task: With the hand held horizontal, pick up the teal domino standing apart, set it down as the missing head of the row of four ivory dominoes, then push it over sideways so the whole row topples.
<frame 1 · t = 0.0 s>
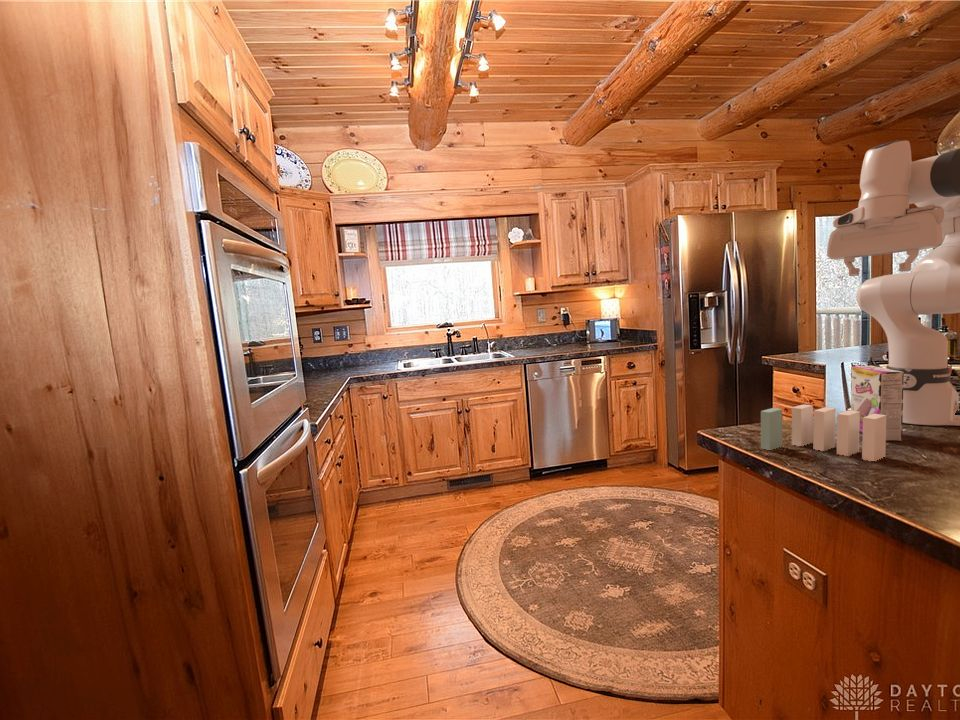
hand: (878, 273, 103), 39 cm above the counter, tool pointing down, fingers open, 8 cm apart
domino 2: (824, 448, 100), on the counter
domino 1: (802, 443, 104), on the counter
candy bar box: (874, 435, 107), on the counter
domino 3: (847, 453, 96), on the counter
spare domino: (771, 447, 103), on the counter
domino 4: (873, 458, 92), on the counter
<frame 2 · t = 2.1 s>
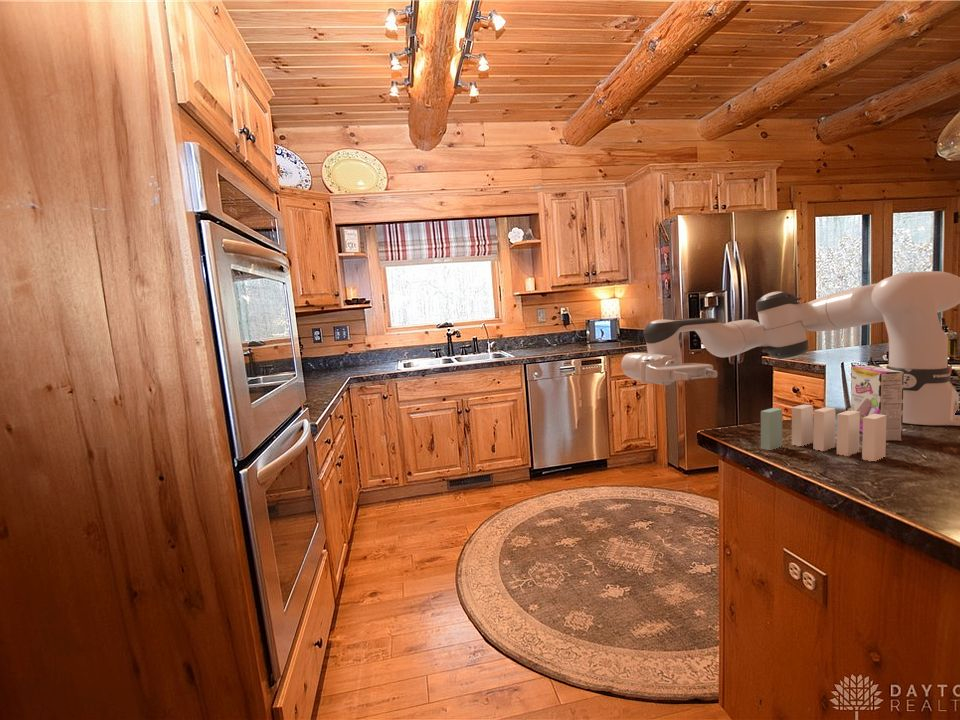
hand: (702, 375, 118), 15 cm above the counter, tool horizontal, fingers open, 8 cm apart
nothing on the counter moved.
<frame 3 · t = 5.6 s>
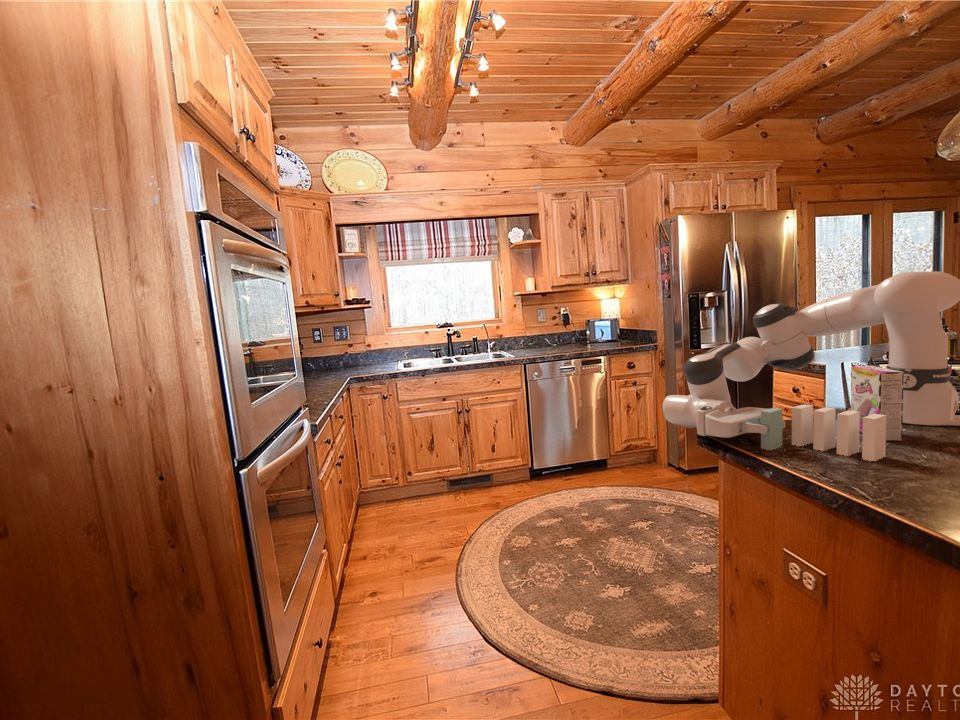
hand: (775, 427, 102), 5 cm above the counter, tool horizontal, fingers closed on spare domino, 5 cm apart
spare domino: (771, 447, 103), on the counter, touching gripper
everything else where it was.
when the fingers open (6 cm above the counter, at t = 10.7 s): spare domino stays where it is, on the counter.
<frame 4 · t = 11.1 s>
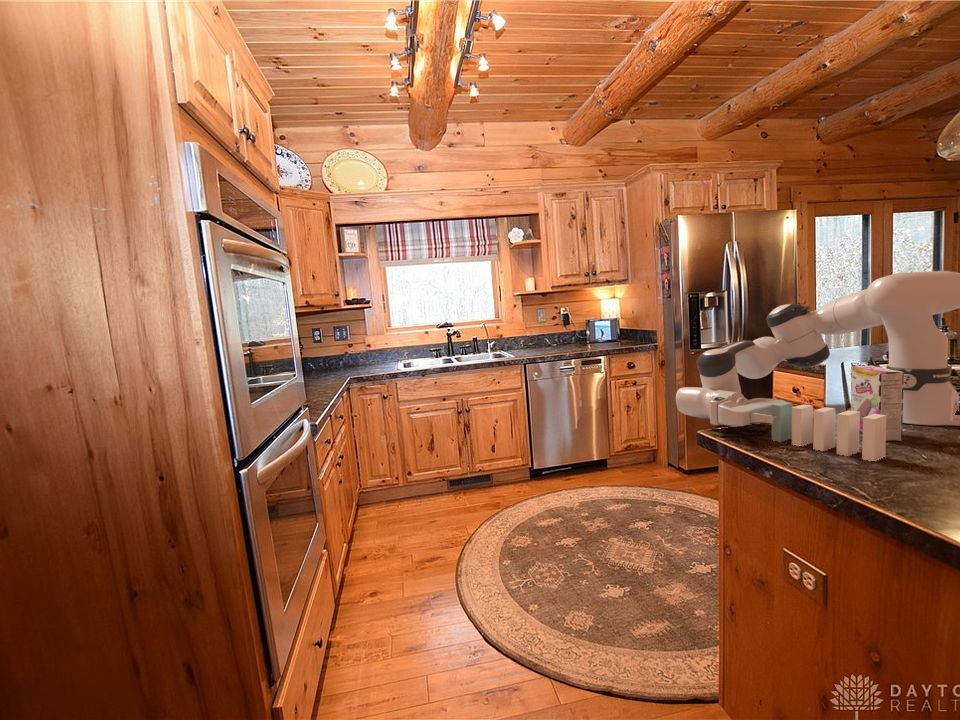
hand: (785, 416, 107), 6 cm above the counter, tool horizontal, fingers open, 8 cm apart
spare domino: (781, 439, 108), on the counter
everything else where it was.
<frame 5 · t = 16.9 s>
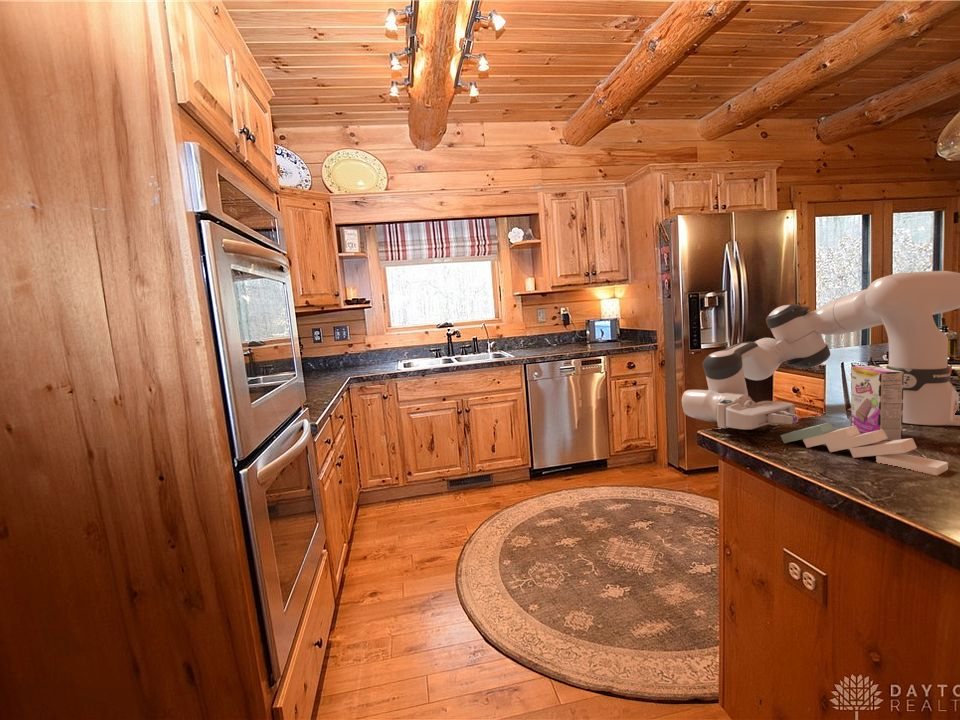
hand: (794, 419, 105), 6 cm above the counter, tool horizontal, fingers closed
domino 2: (833, 445, 99), point 1 cm above the counter, tilted 63°, touching domino 1, domino 3
domino 1: (810, 441, 103), point 1 cm above the counter, tilted 63°, touching domino 2, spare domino
domino 3: (857, 450, 95), point 1 cm above the counter, tilted 69°, touching domino 2
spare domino: (787, 437, 107), point 1 cm above the counter, tilted 64°, touching domino 1
domino 4: (882, 458, 91), on the counter, tilted 90°
everything else where it was.
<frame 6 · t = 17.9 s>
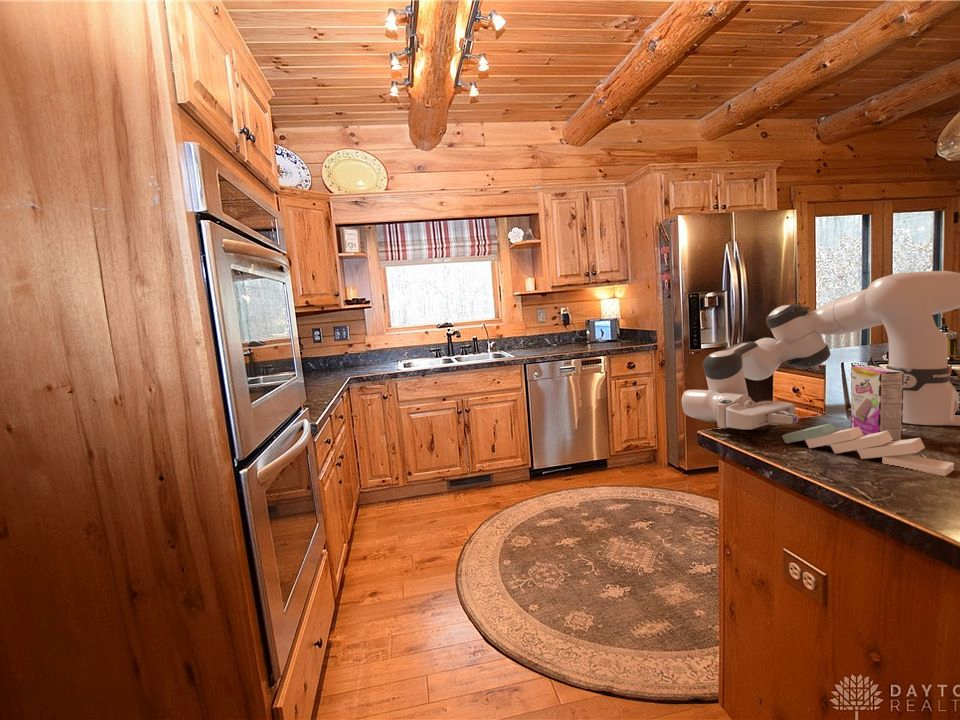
hand: (794, 419, 105), 6 cm above the counter, tool horizontal, fingers closed
domino 2: (837, 446, 98), point 1 cm above the counter, tilted 65°, touching domino 1, domino 3
domino 3: (864, 451, 94), point 1 cm above the counter, tilted 69°, touching domino 2
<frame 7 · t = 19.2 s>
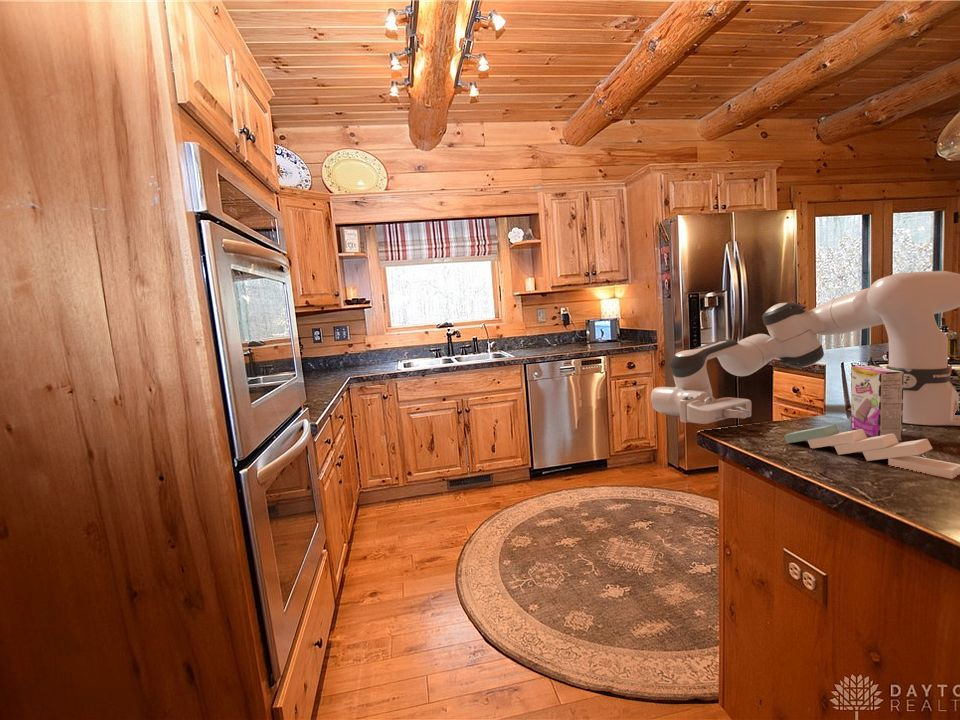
hand: (748, 414, 115), 5 cm above the counter, tool horizontal, fingers closed
domino 2: (842, 448, 97), point 1 cm above the counter, tilted 66°, touching domino 3
domino 1: (815, 442, 102), point 1 cm above the counter, tilted 67°, touching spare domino
domino 3: (871, 453, 92), point 1 cm above the counter, tilted 66°, touching domino 2
domino 4: (893, 460, 89), on the counter, tilted 90°
everything else where it was.
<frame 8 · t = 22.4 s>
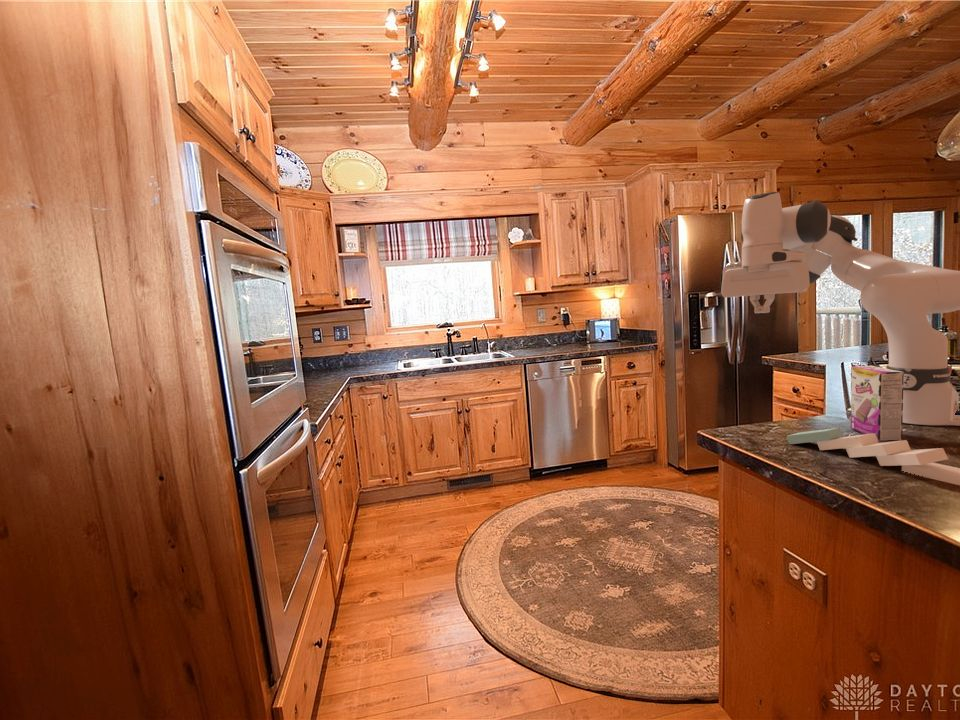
hand: (762, 313, 113), 31 cm above the counter, tool pointing down, fingers closed
domino 2: (858, 450, 94), point 1 cm above the counter, tilted 69°, touching domino 1, domino 3
domino 1: (826, 444, 100), point 1 cm above the counter, tilted 69°, touching domino 2, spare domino
domino 3: (890, 458, 88), point 2 cm above the counter, tilted 70°, touching domino 2, domino 4
domino 4: (909, 466, 86), point 1 cm above the counter, tilted 90°, touching domino 3
at the end: domino 4 tilted 90°; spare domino tilted 71°; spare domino inside the target area (1.3 cm from its centre), point 0.9 cm above the counter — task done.
